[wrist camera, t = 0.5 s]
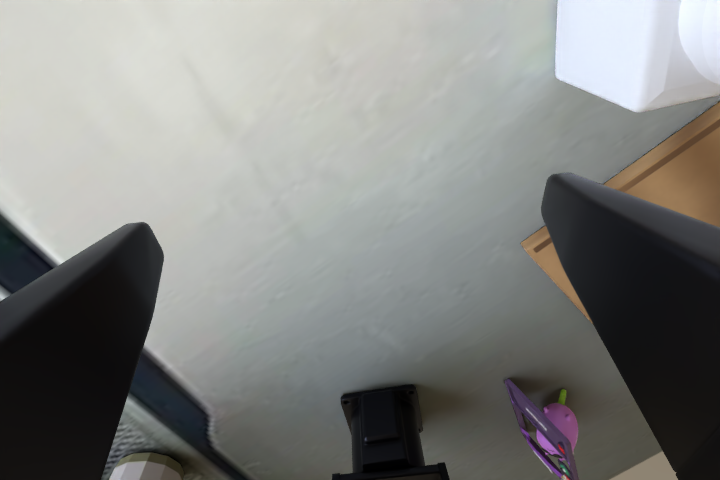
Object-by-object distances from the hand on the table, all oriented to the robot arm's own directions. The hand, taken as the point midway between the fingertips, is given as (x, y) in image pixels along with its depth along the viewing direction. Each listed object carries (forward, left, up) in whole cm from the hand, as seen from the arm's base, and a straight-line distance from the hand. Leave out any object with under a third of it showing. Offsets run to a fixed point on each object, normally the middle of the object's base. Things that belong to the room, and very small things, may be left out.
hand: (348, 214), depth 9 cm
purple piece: (-30, -12, -14) cm, 35 cm away
